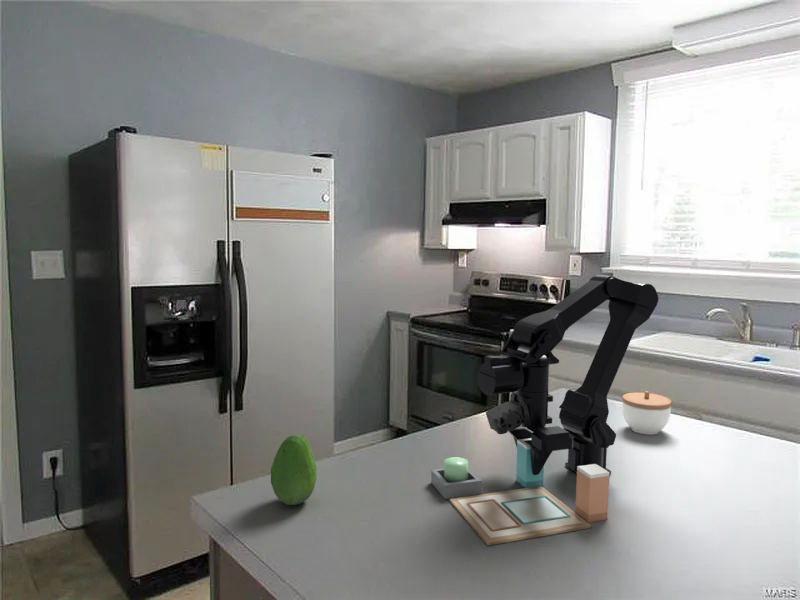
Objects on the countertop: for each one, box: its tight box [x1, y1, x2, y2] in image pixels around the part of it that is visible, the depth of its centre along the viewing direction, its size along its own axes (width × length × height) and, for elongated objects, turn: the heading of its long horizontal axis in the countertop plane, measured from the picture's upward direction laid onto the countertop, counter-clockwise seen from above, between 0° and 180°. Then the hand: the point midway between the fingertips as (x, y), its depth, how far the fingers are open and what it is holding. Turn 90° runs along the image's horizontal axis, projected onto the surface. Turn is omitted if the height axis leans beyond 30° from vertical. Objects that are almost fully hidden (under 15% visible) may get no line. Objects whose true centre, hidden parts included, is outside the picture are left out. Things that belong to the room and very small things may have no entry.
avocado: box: [270, 434, 318, 506], centre depth 100 cm, size 8×8×12 cm
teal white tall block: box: [515, 438, 545, 488], centre depth 108 cm, size 4×4×8 cm
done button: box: [443, 456, 469, 483], centre depth 106 cm, size 4×4×3 cm
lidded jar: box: [621, 390, 673, 436], centre depth 137 cm, size 11×11×9 cm
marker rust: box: [574, 464, 610, 523], centre depth 96 cm, size 4×4×8 cm
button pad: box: [430, 467, 483, 500], centre depth 106 cm, size 7×7×2 cm
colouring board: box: [449, 486, 592, 546], centre depth 97 cm, size 18×15×1 cm
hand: (529, 470), depth 108 cm, fingers open, 4 cm apart
